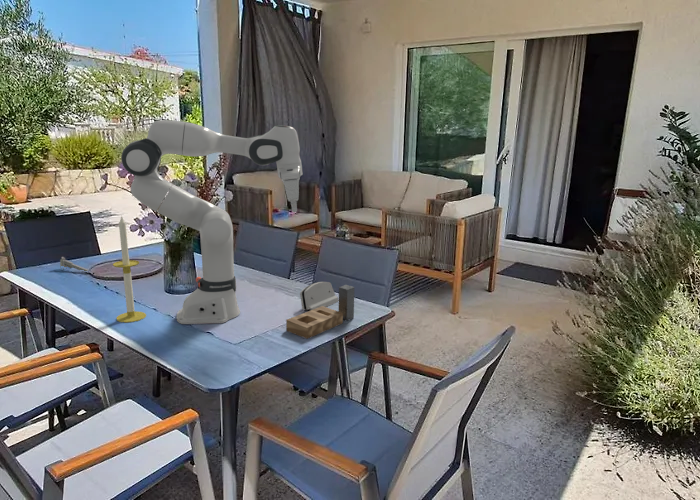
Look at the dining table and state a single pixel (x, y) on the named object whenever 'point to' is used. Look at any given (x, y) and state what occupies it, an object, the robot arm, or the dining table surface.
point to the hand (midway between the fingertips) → (294, 208)
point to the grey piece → (318, 296)
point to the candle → (127, 278)
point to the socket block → (314, 322)
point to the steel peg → (346, 301)
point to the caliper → (70, 264)
